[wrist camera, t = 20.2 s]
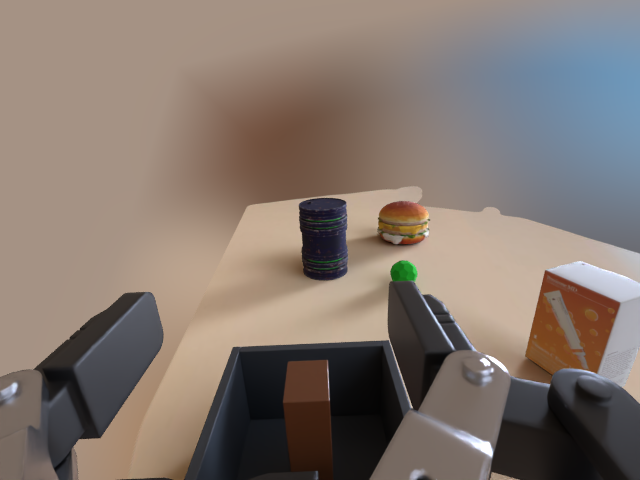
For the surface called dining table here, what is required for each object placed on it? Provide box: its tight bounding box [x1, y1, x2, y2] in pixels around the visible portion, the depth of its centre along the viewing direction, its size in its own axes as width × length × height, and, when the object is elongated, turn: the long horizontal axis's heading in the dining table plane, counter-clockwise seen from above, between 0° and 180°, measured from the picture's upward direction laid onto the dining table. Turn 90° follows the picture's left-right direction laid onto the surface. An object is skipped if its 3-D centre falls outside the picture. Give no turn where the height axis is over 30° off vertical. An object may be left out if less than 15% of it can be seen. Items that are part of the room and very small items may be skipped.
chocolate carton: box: [283, 360, 333, 480], centre depth 26 cm, size 3×4×12 cm
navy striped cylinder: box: [299, 198, 348, 280], centre depth 68 cm, size 10×10×15 cm
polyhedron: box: [390, 261, 417, 282], centre depth 62 cm, size 5×5×5 cm
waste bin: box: [184, 340, 411, 480], centre depth 27 cm, size 16×16×10 cm
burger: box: [377, 201, 430, 244], centre depth 84 cm, size 14×14×10 cm
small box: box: [525, 261, 640, 387], centre depth 38 cm, size 8×6×13 cm
